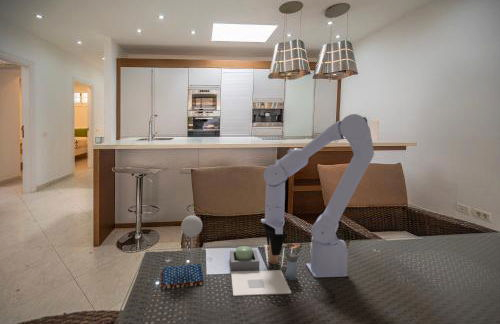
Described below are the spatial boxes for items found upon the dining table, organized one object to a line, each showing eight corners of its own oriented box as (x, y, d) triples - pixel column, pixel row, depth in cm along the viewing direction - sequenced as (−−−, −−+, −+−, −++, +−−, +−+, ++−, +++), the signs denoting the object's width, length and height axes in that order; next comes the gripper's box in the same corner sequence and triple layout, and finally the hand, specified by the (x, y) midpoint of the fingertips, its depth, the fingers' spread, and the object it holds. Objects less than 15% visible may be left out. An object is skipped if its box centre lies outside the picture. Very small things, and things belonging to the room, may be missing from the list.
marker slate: (295, 274, 81) (296, 253, 80) (298, 279, 78) (298, 257, 77) (284, 275, 81) (285, 253, 80) (287, 280, 78) (288, 258, 77)
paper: (280, 270, 83) (280, 270, 83) (291, 293, 71) (291, 292, 71) (231, 272, 82) (231, 271, 82) (233, 296, 70) (233, 295, 70)
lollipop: (197, 273, 81) (197, 219, 79) (177, 270, 82) (177, 218, 80) (205, 263, 87) (205, 213, 85) (186, 261, 88) (186, 212, 87)
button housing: (255, 258, 91) (255, 250, 91) (259, 269, 83) (259, 261, 83) (229, 258, 90) (229, 250, 90) (230, 270, 83) (231, 262, 82)
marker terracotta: (277, 259, 90) (277, 237, 90) (279, 263, 88) (279, 240, 87) (267, 260, 90) (268, 237, 90) (269, 264, 87) (270, 241, 87)
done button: (251, 255, 89) (251, 246, 89) (253, 262, 85) (253, 252, 84) (235, 256, 89) (235, 246, 89) (236, 262, 84) (236, 252, 84)
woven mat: (162, 272, 82) (161, 265, 82) (200, 268, 85) (200, 262, 84) (160, 292, 72) (160, 284, 72) (204, 287, 74) (204, 279, 74)
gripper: (258, 199, 94) (257, 241, 95) (265, 211, 80) (264, 260, 81) (279, 199, 95) (278, 240, 96) (291, 211, 80) (289, 259, 82)
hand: (273, 249), depth 89 cm, fingers open, 7 cm apart
